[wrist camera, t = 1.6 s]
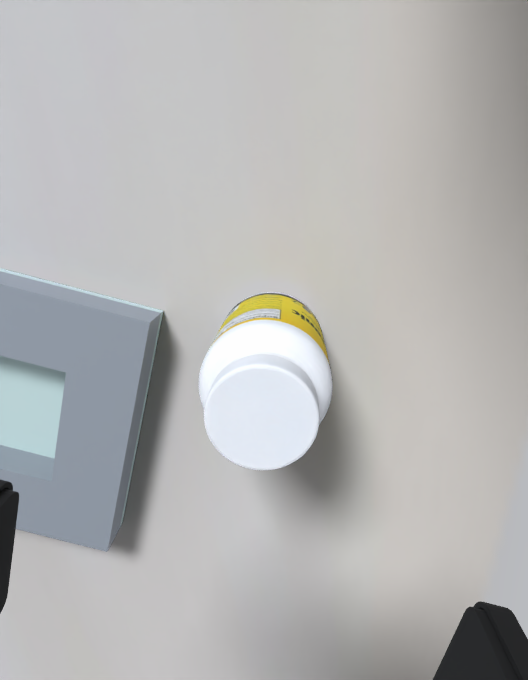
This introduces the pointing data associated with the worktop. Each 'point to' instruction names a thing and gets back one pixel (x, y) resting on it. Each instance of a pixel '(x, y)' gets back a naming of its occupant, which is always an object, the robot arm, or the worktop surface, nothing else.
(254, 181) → the worktop surface
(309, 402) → the supplement bottle
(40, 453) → the holder block
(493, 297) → the worktop surface
